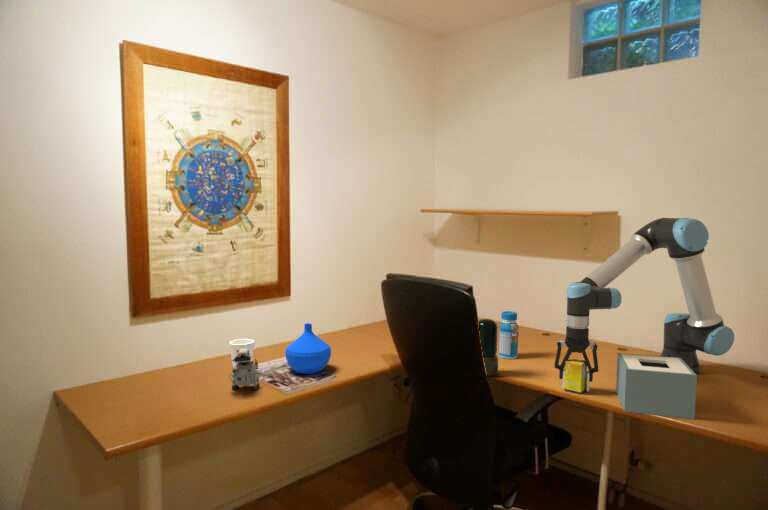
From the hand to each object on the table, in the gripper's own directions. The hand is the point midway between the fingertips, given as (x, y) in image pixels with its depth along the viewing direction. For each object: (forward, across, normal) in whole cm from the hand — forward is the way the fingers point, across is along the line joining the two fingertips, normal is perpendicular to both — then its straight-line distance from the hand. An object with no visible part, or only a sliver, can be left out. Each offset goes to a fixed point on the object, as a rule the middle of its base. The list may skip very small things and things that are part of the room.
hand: (575, 388), depth 184 cm
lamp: (+1, +33, -10) cm, 34 cm away
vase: (+1, +102, +8) cm, 102 cm away
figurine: (+1, +114, +36) cm, 120 cm away
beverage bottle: (+1, +26, -37) cm, 45 cm away
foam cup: (+1, +125, +20) cm, 127 cm away
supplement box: (+1, 0, 0) cm, 1 cm away
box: (+1, -24, +6) cm, 25 cm away
